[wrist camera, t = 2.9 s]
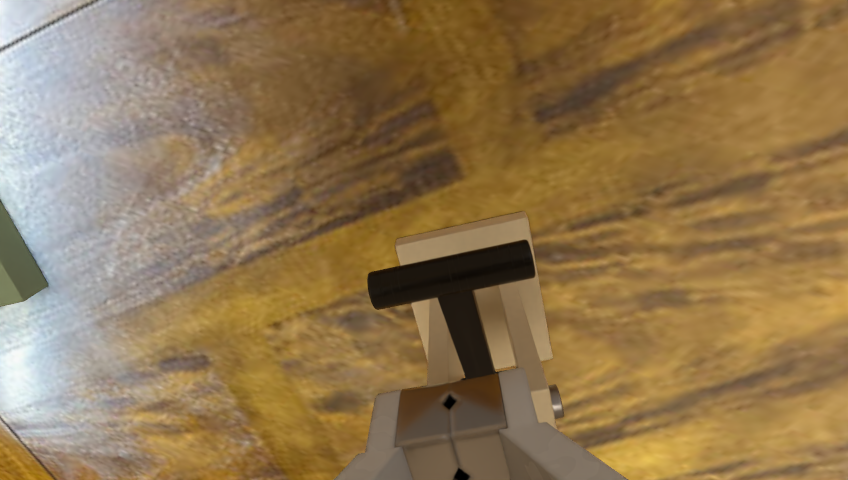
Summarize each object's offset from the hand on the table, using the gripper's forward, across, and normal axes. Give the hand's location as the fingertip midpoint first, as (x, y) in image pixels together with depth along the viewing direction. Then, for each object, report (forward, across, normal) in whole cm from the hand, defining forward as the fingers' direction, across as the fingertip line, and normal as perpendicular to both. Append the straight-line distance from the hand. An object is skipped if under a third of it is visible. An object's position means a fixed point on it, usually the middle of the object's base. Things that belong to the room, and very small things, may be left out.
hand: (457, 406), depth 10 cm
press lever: (+9, 0, +4) cm, 10 cm away
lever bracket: (+21, 0, +9) cm, 23 cm away
